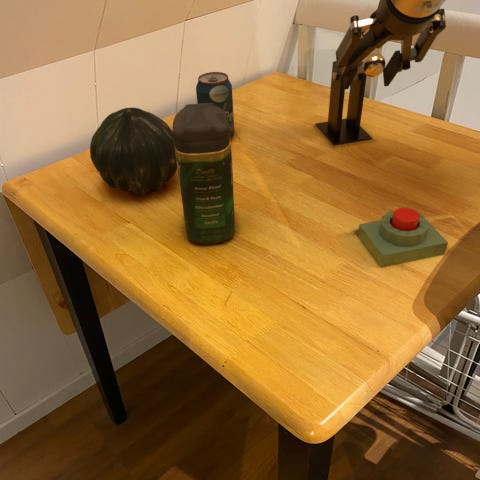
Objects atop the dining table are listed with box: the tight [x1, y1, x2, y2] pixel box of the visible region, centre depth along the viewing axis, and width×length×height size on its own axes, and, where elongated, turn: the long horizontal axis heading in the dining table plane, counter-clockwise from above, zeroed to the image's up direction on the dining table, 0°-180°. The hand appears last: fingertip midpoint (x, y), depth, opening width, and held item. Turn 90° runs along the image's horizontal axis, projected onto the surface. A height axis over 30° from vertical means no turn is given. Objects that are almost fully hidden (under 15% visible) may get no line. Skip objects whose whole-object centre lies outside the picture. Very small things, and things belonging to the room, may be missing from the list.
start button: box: [392, 207, 420, 231], centre depth 69 cm, size 4×4×2 cm
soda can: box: [195, 71, 235, 141], centre depth 96 cm, size 7×7×12 cm
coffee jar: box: [171, 103, 236, 245], centre depth 71 cm, size 10×8×19 cm
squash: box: [89, 107, 178, 197], centre depth 84 cm, size 14×15×15 cm
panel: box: [357, 210, 449, 268], centre depth 71 cm, size 10×8×4 cm
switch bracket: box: [315, 60, 373, 147], centre depth 93 cm, size 10×8×14 cm
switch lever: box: [353, 52, 386, 81], centre depth 85 cm, size 13×4×4 cm, turn 14°
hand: (365, 80), depth 85 cm, fingers open, 6 cm apart
